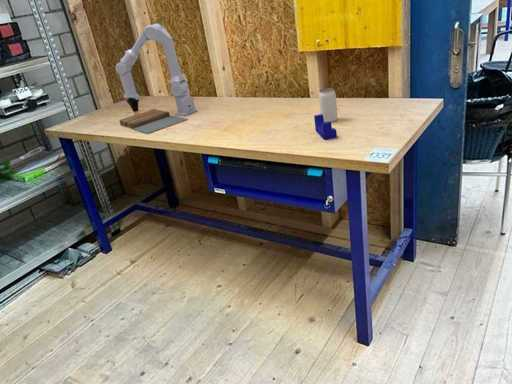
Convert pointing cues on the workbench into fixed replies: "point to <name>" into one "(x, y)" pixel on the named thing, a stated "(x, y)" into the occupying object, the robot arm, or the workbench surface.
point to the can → (328, 104)
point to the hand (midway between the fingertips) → (136, 112)
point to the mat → (159, 124)
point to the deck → (144, 119)
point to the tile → (142, 113)
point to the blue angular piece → (324, 128)
